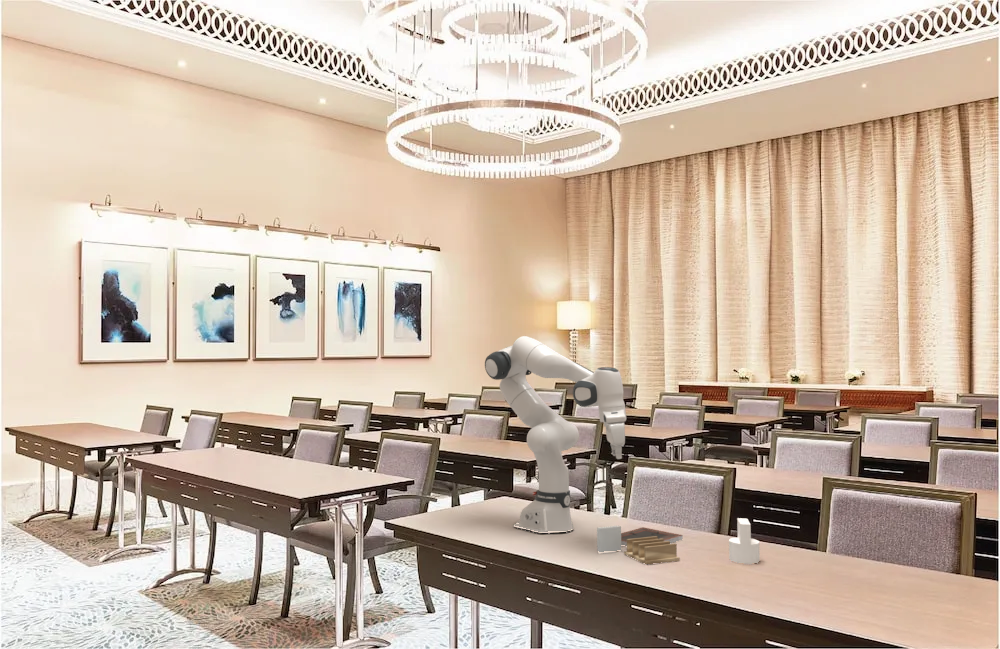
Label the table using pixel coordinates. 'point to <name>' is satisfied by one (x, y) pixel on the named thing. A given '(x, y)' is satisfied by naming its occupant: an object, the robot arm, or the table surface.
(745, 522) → the cylinder with rectangular tab
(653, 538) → the rack
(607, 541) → the grey block
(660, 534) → the picture frame
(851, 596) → the table surface
